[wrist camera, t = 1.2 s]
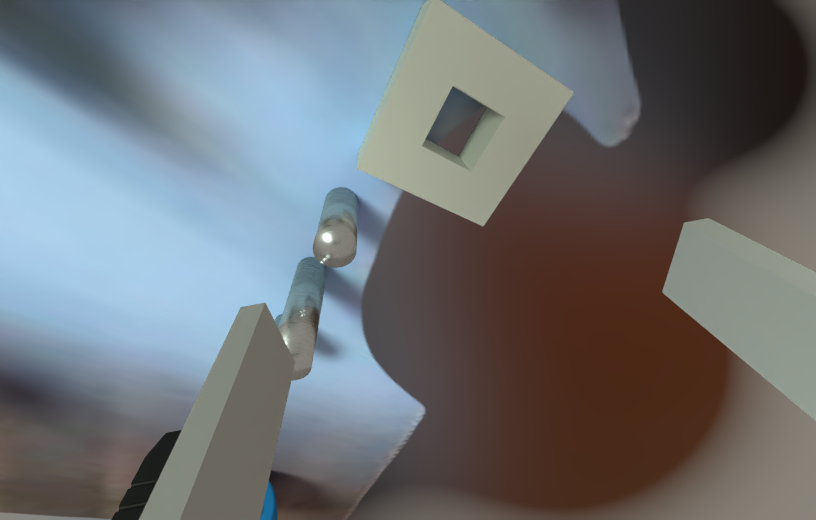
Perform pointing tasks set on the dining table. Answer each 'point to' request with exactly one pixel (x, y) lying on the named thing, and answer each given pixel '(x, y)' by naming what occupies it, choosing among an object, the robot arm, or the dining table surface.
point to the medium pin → (337, 229)
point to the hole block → (495, 131)
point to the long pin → (303, 314)
